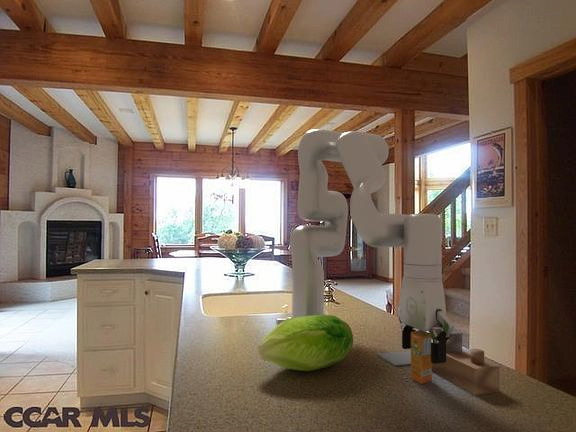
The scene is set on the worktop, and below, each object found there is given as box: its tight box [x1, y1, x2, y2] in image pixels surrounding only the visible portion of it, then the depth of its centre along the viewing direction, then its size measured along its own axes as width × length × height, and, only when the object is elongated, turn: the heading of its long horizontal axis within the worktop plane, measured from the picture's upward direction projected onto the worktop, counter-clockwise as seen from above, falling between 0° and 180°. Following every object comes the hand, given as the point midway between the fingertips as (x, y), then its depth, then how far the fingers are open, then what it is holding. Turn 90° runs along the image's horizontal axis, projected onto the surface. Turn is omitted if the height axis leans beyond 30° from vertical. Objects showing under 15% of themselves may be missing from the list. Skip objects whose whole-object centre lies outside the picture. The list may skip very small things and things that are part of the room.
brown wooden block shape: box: [432, 331, 501, 396], centre depth 84 cm, size 6×16×10 cm, turn 18°
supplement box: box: [410, 329, 433, 384], centre depth 83 cm, size 3×3×10 cm
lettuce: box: [257, 314, 354, 372], centre depth 88 cm, size 13×23×12 cm, turn 115°
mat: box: [376, 350, 411, 368], centre depth 95 cm, size 8×8×1 cm
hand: (423, 355), depth 82 cm, fingers open, 9 cm apart
